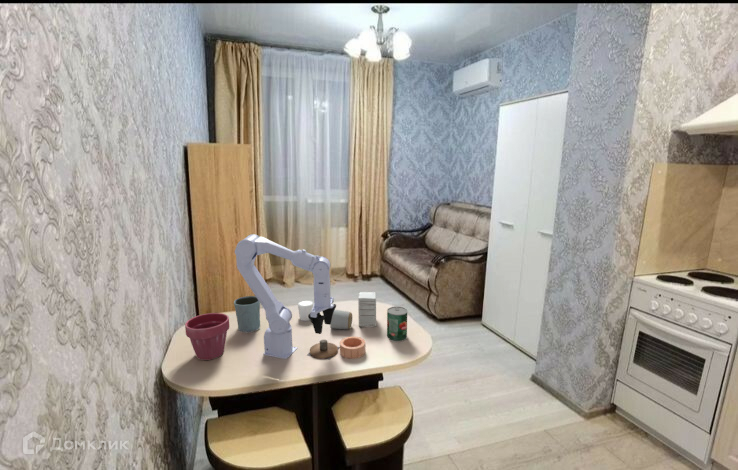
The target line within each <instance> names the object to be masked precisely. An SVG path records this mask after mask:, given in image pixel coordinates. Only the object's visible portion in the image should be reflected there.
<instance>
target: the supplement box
mask: <svg viewBox="0 0 738 470" xmlns="http://www.w3.org/2000/svg"><path fill="white" fill-rule="evenodd" d="M357 298H358V299H357V301H358V302H357V303H358V327H371V328H372V327H376V326H377V292H375V291H369V292H368V291H360V292H359V293H358V297H357Z"/></svg>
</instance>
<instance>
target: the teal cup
mask: <svg viewBox="0 0 738 470" xmlns="http://www.w3.org/2000/svg"><path fill="white" fill-rule="evenodd" d="M233 305H234V310H235V316H236V320H237V321H236V322H237V328H238V331H239V332H242V333H252V332H255V331H258V330H259V329H260V327H261V313H260V312H261V309H260V308H261V303H260V302H259V300H258V299H257V297H256V296H255V295H249V296H248V295H247V296H243V297H242V296H241V297H239V298H237V299H234V301H233Z"/></svg>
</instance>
